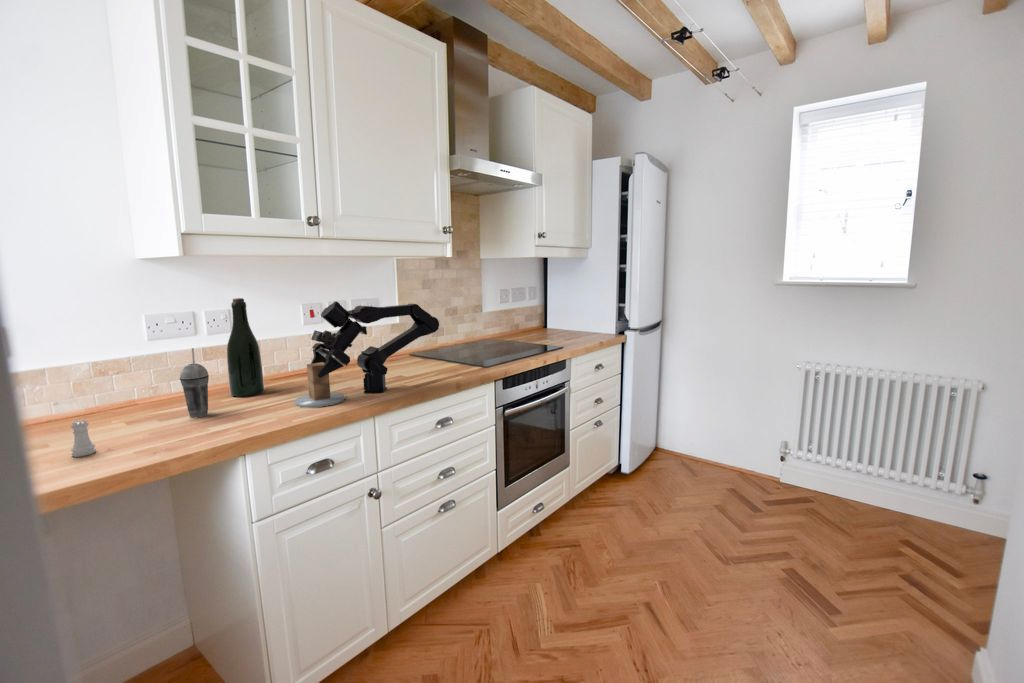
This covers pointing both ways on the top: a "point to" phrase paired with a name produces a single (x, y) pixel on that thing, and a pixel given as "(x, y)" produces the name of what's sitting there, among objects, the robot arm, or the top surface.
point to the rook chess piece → (81, 440)
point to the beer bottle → (243, 355)
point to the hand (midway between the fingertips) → (313, 374)
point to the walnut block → (317, 382)
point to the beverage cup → (195, 388)
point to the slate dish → (308, 402)
